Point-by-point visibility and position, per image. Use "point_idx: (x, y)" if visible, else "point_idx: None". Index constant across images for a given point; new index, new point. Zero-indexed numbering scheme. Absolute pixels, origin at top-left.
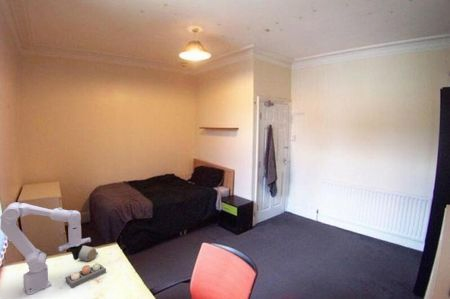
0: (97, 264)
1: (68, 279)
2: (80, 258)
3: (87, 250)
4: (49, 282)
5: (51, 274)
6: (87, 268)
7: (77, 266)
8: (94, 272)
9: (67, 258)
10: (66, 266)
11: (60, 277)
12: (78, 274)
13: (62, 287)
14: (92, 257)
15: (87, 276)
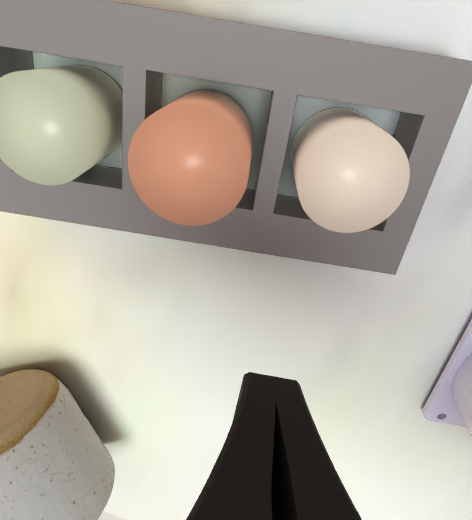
0: (13, 146)
1: (412, 203)
2: (100, 444)
3: (1, 485)
4: (463, 349)
5: (351, 435)
6: (194, 105)
7: (165, 379)
8: (124, 43)
9: (159, 510)
10: (220, 440)
11: (348, 349)
12: (336, 133)
13: (468, 179)
14: (10, 383)
15: (244, 30)
